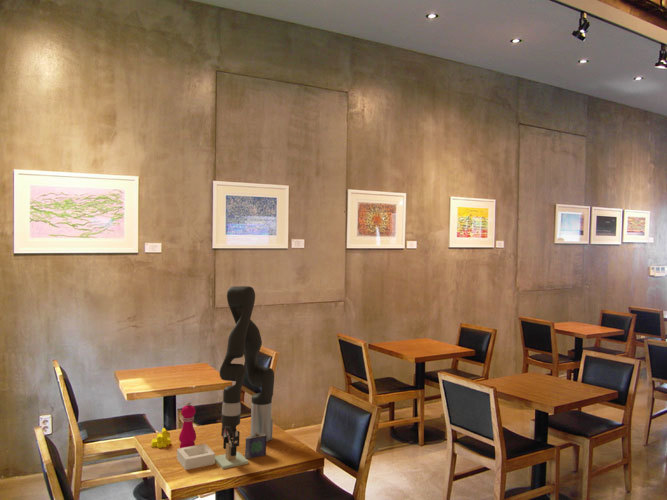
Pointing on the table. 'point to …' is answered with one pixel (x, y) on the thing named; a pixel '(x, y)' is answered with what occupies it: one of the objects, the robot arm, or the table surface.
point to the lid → (230, 458)
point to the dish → (195, 456)
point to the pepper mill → (187, 426)
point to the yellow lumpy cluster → (161, 439)
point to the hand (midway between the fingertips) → (229, 452)
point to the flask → (255, 445)
